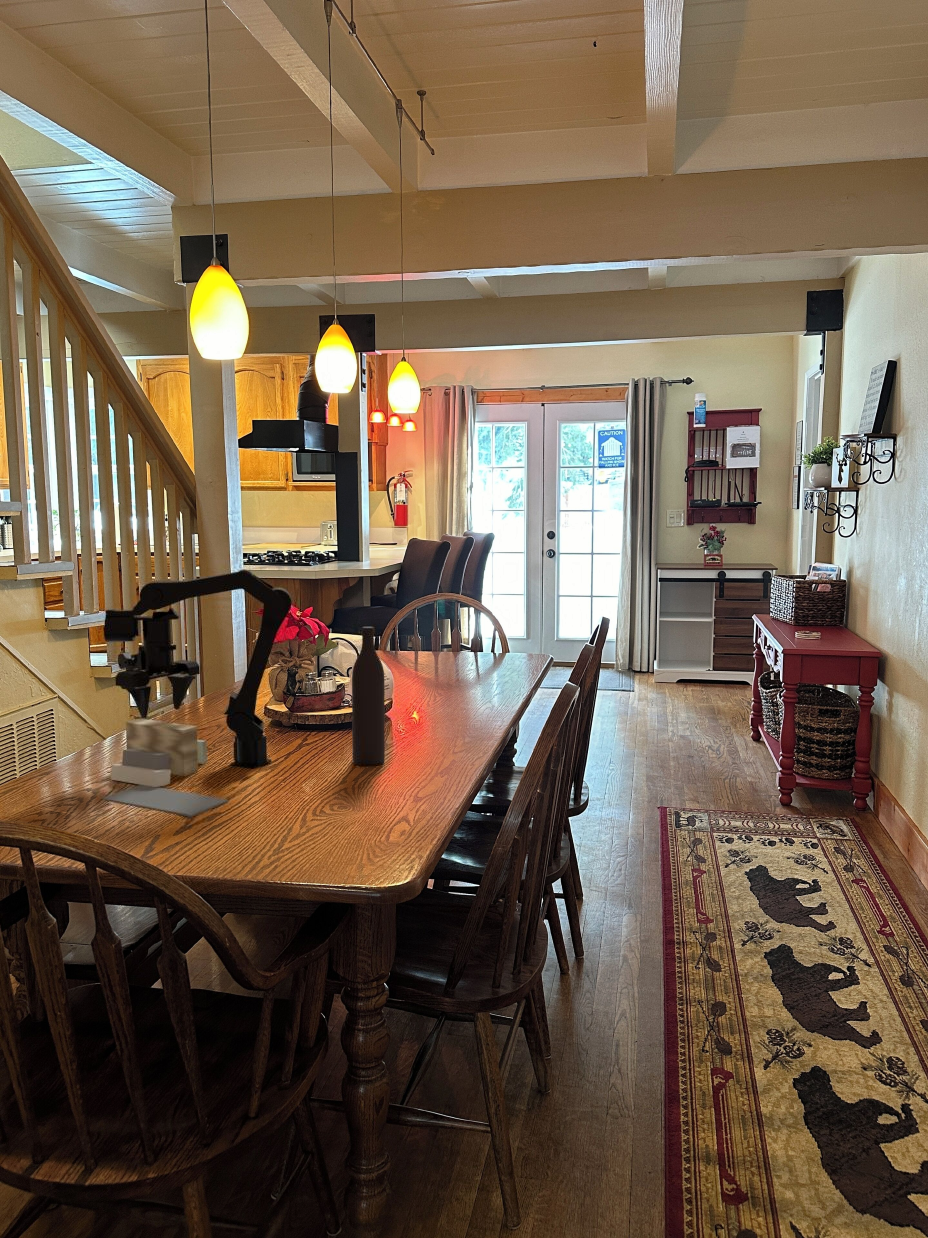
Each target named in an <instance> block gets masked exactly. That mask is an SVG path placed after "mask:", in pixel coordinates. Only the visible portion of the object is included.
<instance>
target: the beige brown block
mask: <svg viewBox="0 0 928 1238" xmlns="http://www.w3.org/2000/svg"><path fill="white" fill-rule="evenodd" d="M197 728H198V726H197V725H192V724H191V725H190V724H183V723H175V722H168V721H160V720H153V719H146V718H136V719H132V720H129V721H126V722H125V736H126V750H128V749H140V750H147V751H155V752H162V753H169V766H168V768H167V769H168V770H171V774H170V775H174V776H175V775H176V776H180V777H181V776H182V777H187V776H189V775H192V774H195V773H198V772H199V763H198V753H197V740H198V729H197Z"/></svg>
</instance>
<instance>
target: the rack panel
mask: <svg viewBox="0 0 928 1238" xmlns="http://www.w3.org/2000/svg"><path fill="white" fill-rule="evenodd" d="M207 748H208V747H207V740H202V739H197V753H198V764H201V765H205V764H207V763H208V749H207Z"/></svg>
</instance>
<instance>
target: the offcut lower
mask: <svg viewBox="0 0 928 1238" xmlns="http://www.w3.org/2000/svg"><path fill="white" fill-rule="evenodd" d="M110 768H111V770H110V771H111V772H110V780H112V781H116V782H117V781H118V782H124V783H128V784H129V783H131V784H136V785H146V786H152V787H159V788H160V787H164V786H168V785H170V784H171V775H172V774H171V770H168V769H160V770H153V769H147V768H140V767H133V766H127V765H122V762H121V763H114V764H111V767H110Z"/></svg>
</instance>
